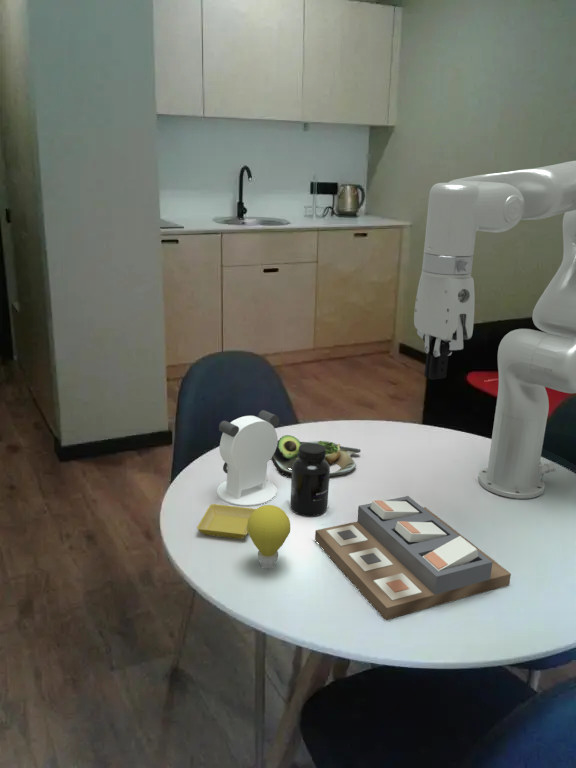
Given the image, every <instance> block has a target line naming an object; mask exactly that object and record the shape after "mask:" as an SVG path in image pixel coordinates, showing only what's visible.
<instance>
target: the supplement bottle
mask: <svg viewBox="0 0 576 768" xmlns="http://www.w3.org/2000/svg"><path fill="white" fill-rule="evenodd" d="M325 451H326V450H325V447H324V446H323V445H320V444H317V443H305V444H302V445H300V446H299V453H298V459H296V460H295V461H294V463H293V465H292V478H291V484H290V505H289V506H290V509H291V510H292V511H293V512H295V513H296V514H298V515H301V516H304V515H305V517H316V515H317V516H319V515H322V514H324V513H325V512H326V511H327V509H328V503H329V488H330V487H329V486H330V477H329V476H330V473H331V465H329V464H328V462H327V461H326V460H325V457H326V455H325Z"/></svg>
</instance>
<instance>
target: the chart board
mask: <svg viewBox="0 0 576 768" xmlns="http://www.w3.org/2000/svg"><path fill="white" fill-rule="evenodd" d="M423 508H424V509H425V510H427V511H428V512H429V513H431V514H432V515H433V516H434V517H436V518H437V519H438V520H439V521H441V522H442V523H443V524H445V525H446V526H447V527H448V528H450V529H451V530H452V531H454V532H455V533H456V534H457V535H459V536H461V537H462V538H463V539H465V540H466V541H467V542H469V543H470V544H471V545H472V546H474V547H475V548H476V549H477V550H478V551H479V552H480V553H482V554H483V555H484V556H486V557H487V558H488V559H489V560H491V561H492V569H491V576H490V580H486V581H483V582H479V583H475V584H472V585H468V586H464V587H461V588H457V589H454V590H450V591H446V592H443V593H439V594H436V595H434V594H433V593H432V592H431V591H430V590H429V589H428V588H427V587H426V586H425V585H424V584H423V583H422V582H421V581H420V580H419V579H417V578H416V577H415V576H414V575H413V574H412V573H411V572H410V571H409V570H408V569H407V568H406V567H405V566H404V565H403V564H402V563H401V562H400V561H399V560H397V559H396V558H395V557H394V556H393V555H392V554H391V553H390V552H389V551H388V550H387V549H386V548H385V547H384V546H383V545H382V544H381V543H380V542H378V541H377V540H376V539H375V538H374V537H373V536H372V535H371V534H370V533H369V532H368V531H367V530H366V529H365V528H364V527H363V526H362V525H361V524H360V523H358V522H357V521H353V522H349V523H344V524H338V525H335V526H328V527H325V528H320V529H319V528H318V529H316V530H315V534H314V535H315V536H314V541H315V540H316V541H315V543H316V542H318V543H319V545H320V546H321V547H322V548H323V549H324V550H323V549H322V548H321V547H320V546H319V545H318V546H319V547H320V548H321V549H322V550H323V552H324V551H325V552H326V553H327V554H328V555H329V556H330V557H329V556H328V555H327V554H326V553H325V552H324V553H325V554H326V555H327V556H328V557H329V559H331V561H332V562H333V561H334V562H335V563H336V564H335V563H334V562H333V563H334V564H335V565H336V566H337V567H338V568H339V570H340V571H341V572H342V571H343V572H342V573H343V574H344V575H345V576H346V578H348V580H349V581H350V582H351V583H352V584H353V585H354V586H355V588H357V590H358V591H359V592H360V594H362V595H363V597H364V598H365V600H367V601H368V602H369V603H370V604H371V605H372V606H373V608H374V609H375V610H376V611H377V613H379V614H380V615H381V617H382V618H383V619H384V620H385V621H387V620H391V619H394V618H398V617H401V616H405V615H408V614H411V613H415V612H419V611H423V610H427V609H430V608H433V607H436V606H440V605H444V604H447V603H451V602H454V601H457V600H461V599H465V598H469V597H471V596H475V595H479V594H483V593H486V592H489V591H493V590H497V589H500V588H503V587H507V586H510V582H511V581H510V580H511V576H512V573H511V572H509V571H508V570H507V569H506V568H504V567H503V566H502V565H501V564H499V563H498V562H496V561H495V560H494V559H493V558H491V556H489V555H487V554H486V553H485V551H482V550H481V549H480V548H478V546H476V545H475V544H473V542H471V541H470V540H468V539H467V538H465V536H464V535H462V534H461V533H459V532H458V531H457V530H456V529H454V528H453V527H452V526H450V525H449V524H448V523H447V522H445V521H444V520H443V519H441V518H440V517H438V516H437V515H436V514H435V513H433V512H432V511H431V510H429V508H427V507H426V506H424V507H423Z"/></svg>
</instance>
